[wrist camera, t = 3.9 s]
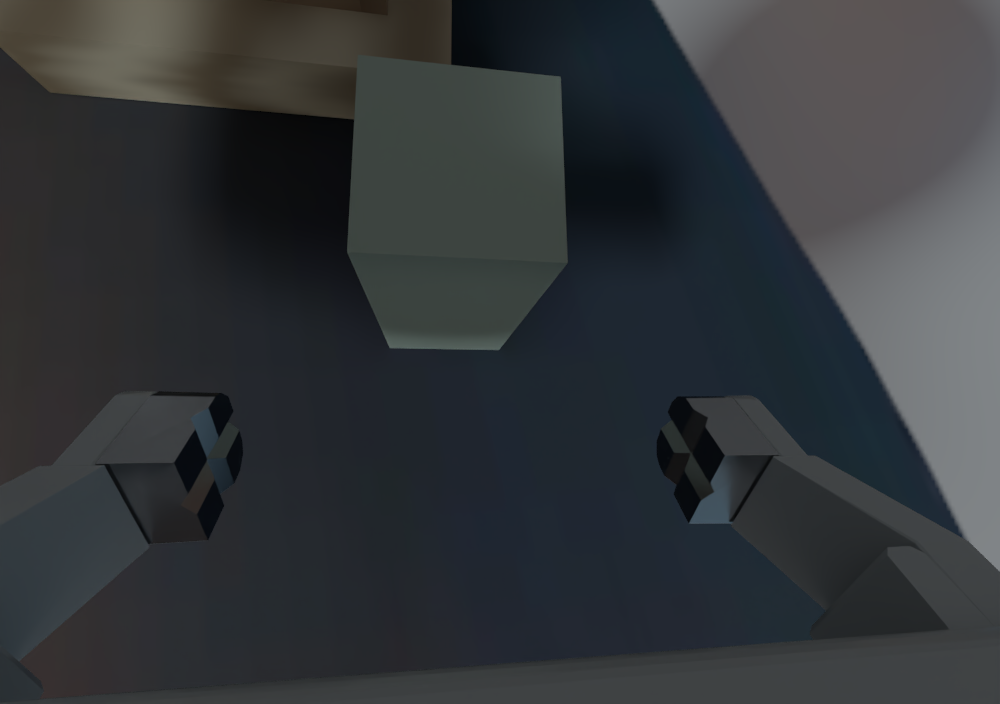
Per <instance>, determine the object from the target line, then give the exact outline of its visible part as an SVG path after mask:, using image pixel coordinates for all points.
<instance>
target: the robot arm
mask: <svg viewBox="0 0 1000 704" xmlns="http://www.w3.org/2000/svg"><path fill="white" fill-rule="evenodd" d="M232 413H233V409H232V406H231V403H230V400H229V397H228V396H226V395H224V394H222V393H198V392H162V391H159V392H143V391H125V392H122V393H120V394H117V395H115V396H114V397H113V398H112V399H111V400H110V402H109V403H108V404H107V405H106V406H105V407H104V408H103V409H102V410H101V412H100V413H99V414H98V415H97V416H96V417H95V418H94V419H93V420H92V421H91V423H90V424H89V425H88V426H87V427H86V428H85V429H84V430H83V431H82V432H81V434H80V435H79V436H78V437H77V438H76V439H75V440H74V441H73V442H72V443H71V445H70V446H69V447H68V448H67V449H66V450H65V451H64V452H63V453H62V455H61V456H60V457H59V458H58V459H57V460H56V461H55V462H54V463H53V464H52V466H38V467H37V468H35V469H33V470H31V471H29V472H27V473H25V474H23V475H21V476H19V477H17V478H15V479H13V480H11V481H9V482H7V483H5V484H3V485H1V486H0V704H1000V572H999V571H998V570H997V569H996V568H995V567H994V566H993V565H992V564H991V563H990V562H989V561H988V560H987V559H986V558H985V557H984V556H983V555H982V554H980V552H979V551H977V549H976V548H974V547H973V546H972V545H971V544H970V543H969V542H968V541H966V540H965V539H963V538H961V537H959V536H957V535H956V534H954V533H952V532H950V531H948V530H947V529H945V528H943V527H941V526H940V525H938V524H936V523H934V522H932V521H931V520H929V519H927V518H925V517H924V516H922V515H920V514H918V513H916V512H915V511H913V510H911V509H909V508H907V507H906V506H904V505H902V504H900V503H899V502H897V501H895V500H893V499H891V498H890V497H888V496H886V495H884V494H883V493H881V492H879V491H877V490H875V489H874V488H872V487H870V486H868V485H866V484H865V483H863V482H861V481H859V480H858V479H856V478H854V477H852V476H850V475H849V474H847V473H845V472H843V471H842V470H840V469H838V468H836V467H834V466H833V465H831V464H829V463H827V462H825V461H824V460H822V459H820V458H818V457H817V456H807V454H806V453H805V452H804V451H803V450H802V449H801V448H800V446H799V445H798V444H797V443H796V442H795V441H794V440H793V438H792V437H791V436H790V435H789V434H788V433H787V432H786V430H785V429H784V428H783V427H782V426H781V425H780V424H779V422H778V421H777V420H776V419H775V418H774V417H773V416H772V414H771V413H770V412H769V411H768V410H767V409H766V408H765V406H764V405H763V404H762V403H761V402H760V401H759V400H758V399H756V398H754V397H753V396H725V397H722V396H678V397H677V398H676V399H675V400H674V401H673V402H672V403H671V406H670V408H669V410H668V413H669V416H670V418H671V420H672V421H670V422H669V423H668V424H666V425H665V426H664V427H663V428H661V431H660V433H659V436H658V439H657V458H658V462H659V465H660V468H661V470H662V472H663V474H664V476H666V477H667V478H668V479H670V480H671V481H672V482H674V483H675V484H676V488H675V492H674V496H675V498H676V500H677V501H678V503H679V505H680V507H681V509H682V511H683V513H684V515H685V517H686V519H687V521H688V523H689V524H719V523H732V525H731V526H732V527H733V528H734V529H735V530H736V531H738V532H739V533H740V534H741V535H742V536H743V537H744V538H745V539H746V540H748V541H749V542H750V543H751V544H752V545H753V546H754V547H755V548H757V549H758V550H759V551H760V552H761V553H762V554H763V555H764V556H766V557H767V558H768V559H769V560H770V561H771V562H772V563H773V564H775V565H776V566H777V567H778V568H779V569H780V570H781V571H782V572H783V573H785V574H786V575H787V576H788V577H789V578H790V579H791V580H792V581H794V582H795V583H796V584H797V585H798V586H799V587H800V588H801V589H803V590H804V591H805V592H806V593H807V594H808V595H809V596H810V597H812V598H813V599H814V600H815V601H816V602H817V603H818V604H819V605H820V606H822V607H823V608H824V609H825V610H826V612H825V613H824V614H823V615H822V616H821V617H820V618H819V619H818V620H817V621H816V622H815V623H814V624H813V625H812V627H811V631H810V635H811V637H812V638H813V640H806V641H792V642H779V643H766V644H753V645H740V646H727V647H713V648H700V649H687V650H674V651H661V652H648V653H634V654H621V655H608V656H595V657H582V658H569V659H556V660H542V661H529V662H516V663H503V664H490V665H477V666H464V667H451V668H438V669H425V670H412V671H399V672H385V673H372V674H359V675H346V676H333V677H320V678H307V679H294V680H281V681H268V682H255V683H242V684H229V685H216V686H203V687H190V688H177V689H164V690H151V691H138V692H125V693H112V694H99V695H86V696H73V697H60V698H47V699H40V697H41V695H42V693H43V692H44V690H43V687H42V684H41V681H40V680H39V679H38V678H37V677H35V676H34V675H33V674H32V673H31V672H30V671H29V670H28V669H27V668H25V667H24V666H23V665H22V664H21V663H20V662H19V661H20V660H21V659H22V658H23V657H25V656H26V655H27V654H28V653H29V652H30V651H31V650H33V649H34V648H35V647H36V646H37V645H38V644H39V643H41V642H42V641H43V640H44V639H45V638H46V637H47V636H49V635H50V634H51V633H52V632H53V631H54V630H55V629H57V628H58V627H59V626H60V625H61V624H62V623H63V622H65V621H66V620H67V619H68V618H69V617H70V616H71V615H73V614H74V613H75V612H76V611H77V610H78V609H79V608H81V607H82V606H83V605H84V604H85V603H86V602H87V601H89V600H90V599H91V598H92V597H93V596H94V595H95V594H97V593H98V592H99V591H100V590H101V589H102V588H103V587H105V586H106V585H107V584H108V583H109V582H110V581H111V580H113V579H114V578H115V577H116V576H117V575H118V574H119V573H121V572H122V571H123V570H124V569H125V568H126V567H127V566H129V565H130V564H131V563H132V562H133V561H134V560H135V559H137V558H138V557H139V556H140V555H141V554H142V553H143V552H145V551H146V550H147V549H148V548H149V544H159V543H176V542H192V541H208V539H209V537H210V535H211V533H212V531H213V528H214V526H215V524H216V522H217V520H218V518H219V515H220V513H221V511H222V509H223V507H224V504H223V501H222V498H221V495H220V494H221V493H222V492H224V491H225V490H226V489H228V488H229V487H230V486H232V485H233V484H234V483H235V480H236V478H237V476H238V473H239V471H240V467H241V462H242V456H243V446H242V438H241V435H240V431H239V430H238V429H237V428H235V427H234V426H233V425H232V424H230V423H229V422H228V421H229V419H230V417H231V415H232Z"/></svg>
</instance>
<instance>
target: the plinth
mask: <svg viewBox="0 0 1000 704" xmlns="http://www.w3.org/2000/svg"><path fill="white" fill-rule="evenodd" d="M451 24H452V0H0V48H1V49H3V50H4V51H5V52H6V53H7V54H8V55H9V56H10V57H11V58H13V59H14V60H15V61H16V62H17V63H18V64H19V65H20V66H21V67H22V68H24V69H25V70H26V71H27V72H28V73H29V74H30V75H31V76H32V77H33V78H35V79H36V80H37V81H38V82H39V83H40V84H41V85H42V86H43V87H44V88H46V89H47V90H48V91H49V92H50V93H61V94H72V95H84V96H95V97H106V98H118V99H129V100H140V101H152V102H163V103H174V104H186V105H197V106H208V107H219V108H231V109H242V110H253V111H265V112H276V113H287V114H299V115H310V116H321V117H333V118H344V119H354V115H355V96H356V78H357V59H358V55H366V56H375V57H384V58H393V59H402V60H411V61H420V62H429V63H439V64H448V65H451Z"/></svg>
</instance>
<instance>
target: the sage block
mask: <svg viewBox="0 0 1000 704" xmlns="http://www.w3.org/2000/svg"><path fill="white" fill-rule="evenodd" d="M347 253H348V256H349V258H350V260H351V262H352V264H353V267H354V269H355V271H356V273H357V276H358V278H359V280H360V282H361V285H362V287H363V289H364V291H365V294H366V296H367V298H368V300H369V303H370V305H371V307H372V309H373V311H374V314H375V316H376V318H377V320H378V323H379V325H380V327H381V329H382V332H383V334H384V336H385V338H386V341H387V343H388V345H389V347H390V348H416V349H468V350H499V349H500V348H501V347H502V345H503V344H504V343H505V342H506V340H507V339H508V338H509V337H510V335H511V334H512V333H513V331H514V330H515V329H516V328H517V326H518V325H519V324H520V323H521V321H522V320H523V319H524V318H525V316H526V315H527V314H528V312H529V311H530V310H531V309H532V307H533V306H534V305H535V304H536V302H537V301H538V300H539V299H540V297H541V296H542V295H543V293H544V292H545V291H546V290H547V288H548V287H549V286H550V285H551V283H552V282H553V281H554V280H555V278H556V277H557V276H558V274H559V273H560V272H561V271H562V269H563V268H564V267H565V266H566V264H567V263H568V259H567V233H566V206H565V179H564V153H563V126H562V99H561V77H557V76H548V75H539V74H530V73H521V72H511V71H502V70H493V69H484V68H475V67H466V66H457V65H448V64H439V63H429V62H420V61H411V60H402V59H393V58H384V57H375V56H366V55H358V59H357V78H356V96H355V115H354V133H353V152H352V170H351V188H350V207H349V225H348V244H347Z"/></svg>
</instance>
